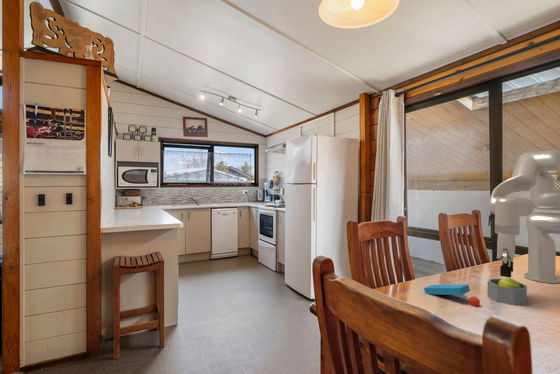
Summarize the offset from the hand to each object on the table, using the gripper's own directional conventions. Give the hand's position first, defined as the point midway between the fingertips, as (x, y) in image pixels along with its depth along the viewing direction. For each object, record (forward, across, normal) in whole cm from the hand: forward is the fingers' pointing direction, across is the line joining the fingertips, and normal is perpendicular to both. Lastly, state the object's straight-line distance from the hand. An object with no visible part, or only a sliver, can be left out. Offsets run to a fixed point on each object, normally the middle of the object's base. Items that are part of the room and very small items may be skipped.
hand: (506, 273), depth 111 cm
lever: (+10, +14, -16) cm, 23 cm away
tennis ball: (+8, 0, 0) cm, 9 cm away
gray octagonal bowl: (+10, 0, 0) cm, 10 cm away
